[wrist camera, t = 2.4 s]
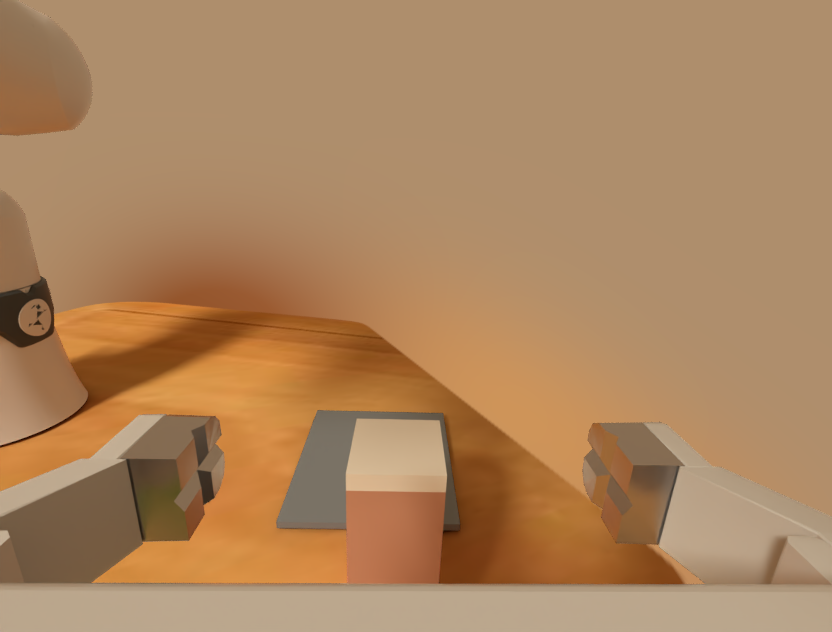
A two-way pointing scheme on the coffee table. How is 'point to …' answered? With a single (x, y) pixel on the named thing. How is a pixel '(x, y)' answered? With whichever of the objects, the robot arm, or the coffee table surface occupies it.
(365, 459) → the tall block
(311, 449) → the slate mat
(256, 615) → the robot arm
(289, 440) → the coffee table surface
